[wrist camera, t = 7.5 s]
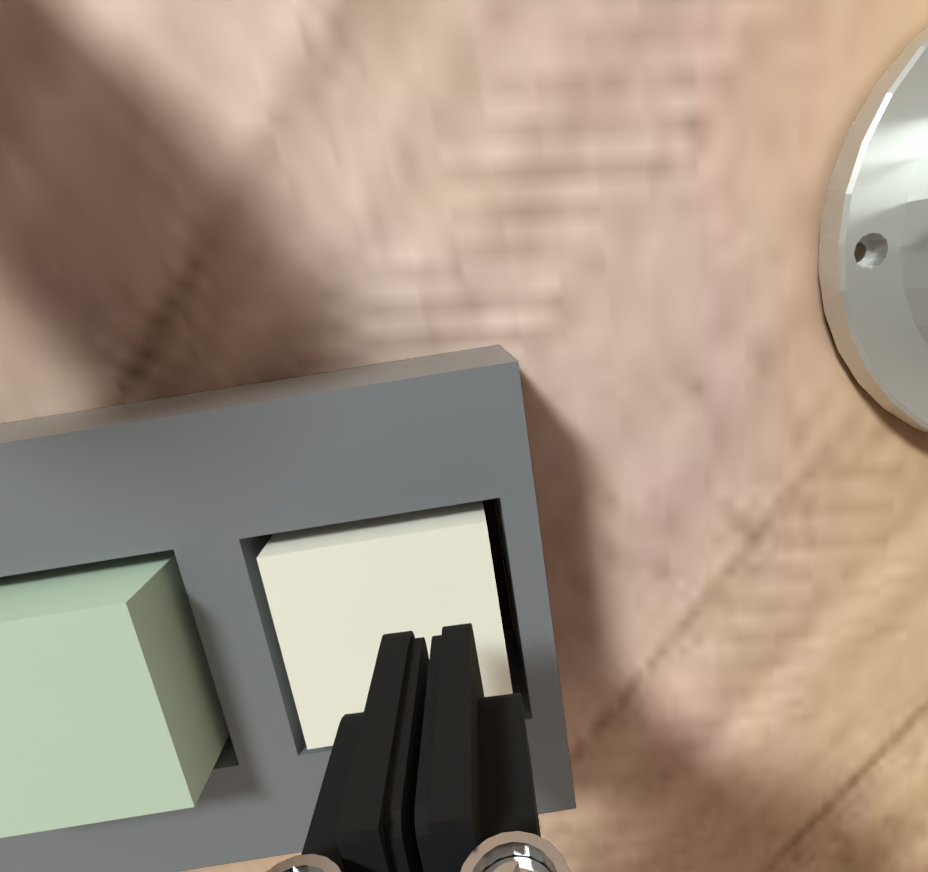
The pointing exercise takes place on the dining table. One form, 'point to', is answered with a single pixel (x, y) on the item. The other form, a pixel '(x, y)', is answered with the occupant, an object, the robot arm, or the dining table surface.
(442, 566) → the cream button
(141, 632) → the sage button
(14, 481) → the button panel
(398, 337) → the dining table surface
